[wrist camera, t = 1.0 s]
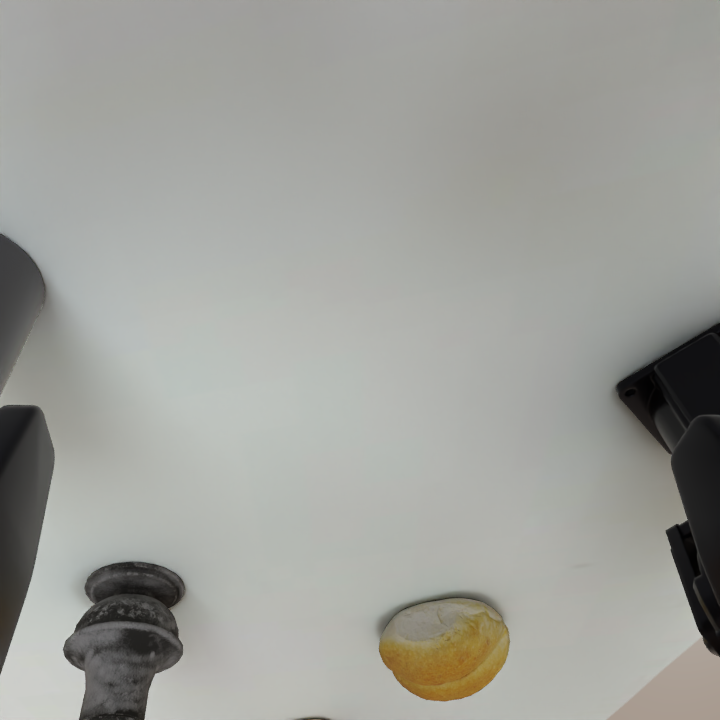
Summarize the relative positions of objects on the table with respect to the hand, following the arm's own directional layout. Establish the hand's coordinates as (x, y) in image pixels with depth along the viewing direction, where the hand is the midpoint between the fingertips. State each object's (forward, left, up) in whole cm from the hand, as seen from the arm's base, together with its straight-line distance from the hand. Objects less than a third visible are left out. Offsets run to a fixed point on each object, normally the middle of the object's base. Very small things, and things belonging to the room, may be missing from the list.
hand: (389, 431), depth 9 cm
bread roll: (-30, +18, -14) cm, 38 cm away
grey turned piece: (-12, +26, -14) cm, 32 cm away
